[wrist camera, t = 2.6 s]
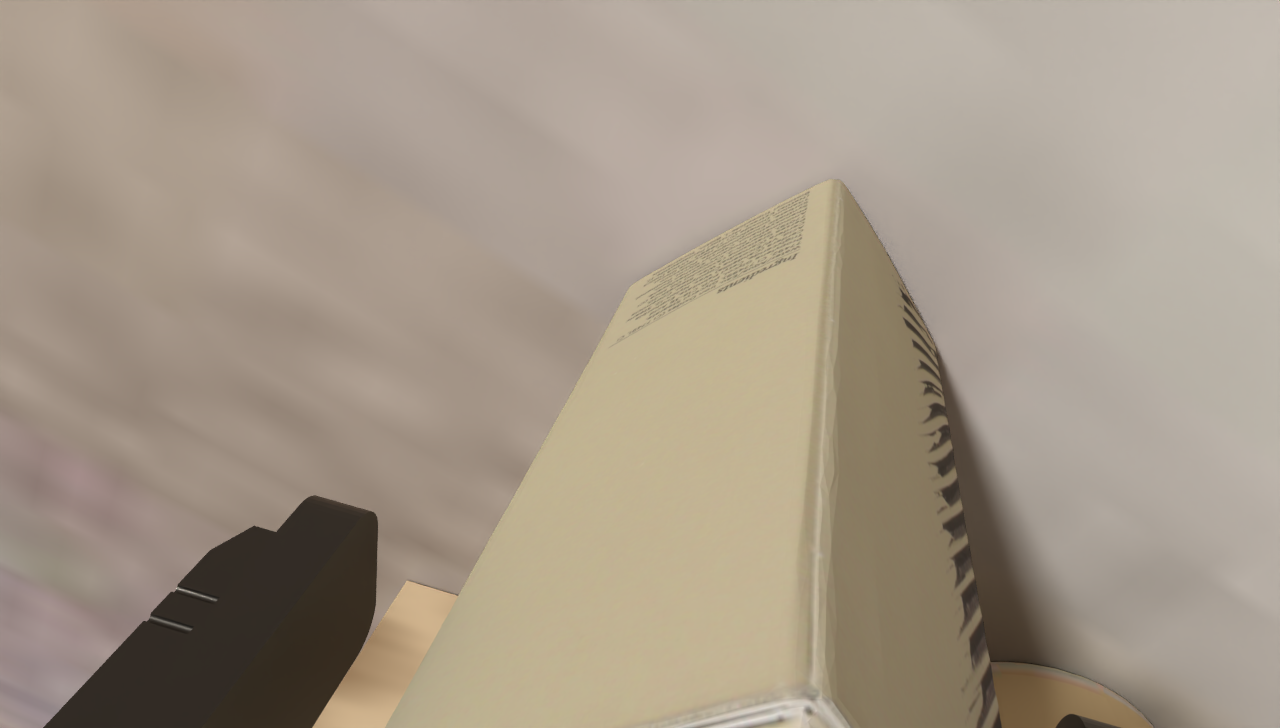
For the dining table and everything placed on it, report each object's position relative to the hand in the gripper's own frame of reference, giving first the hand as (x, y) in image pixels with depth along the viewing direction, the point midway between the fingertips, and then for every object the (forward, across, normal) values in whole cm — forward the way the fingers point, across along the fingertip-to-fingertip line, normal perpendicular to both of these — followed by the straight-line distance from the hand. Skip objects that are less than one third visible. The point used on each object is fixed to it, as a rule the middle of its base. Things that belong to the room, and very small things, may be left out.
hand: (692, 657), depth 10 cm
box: (+10, 0, 0) cm, 10 cm away
